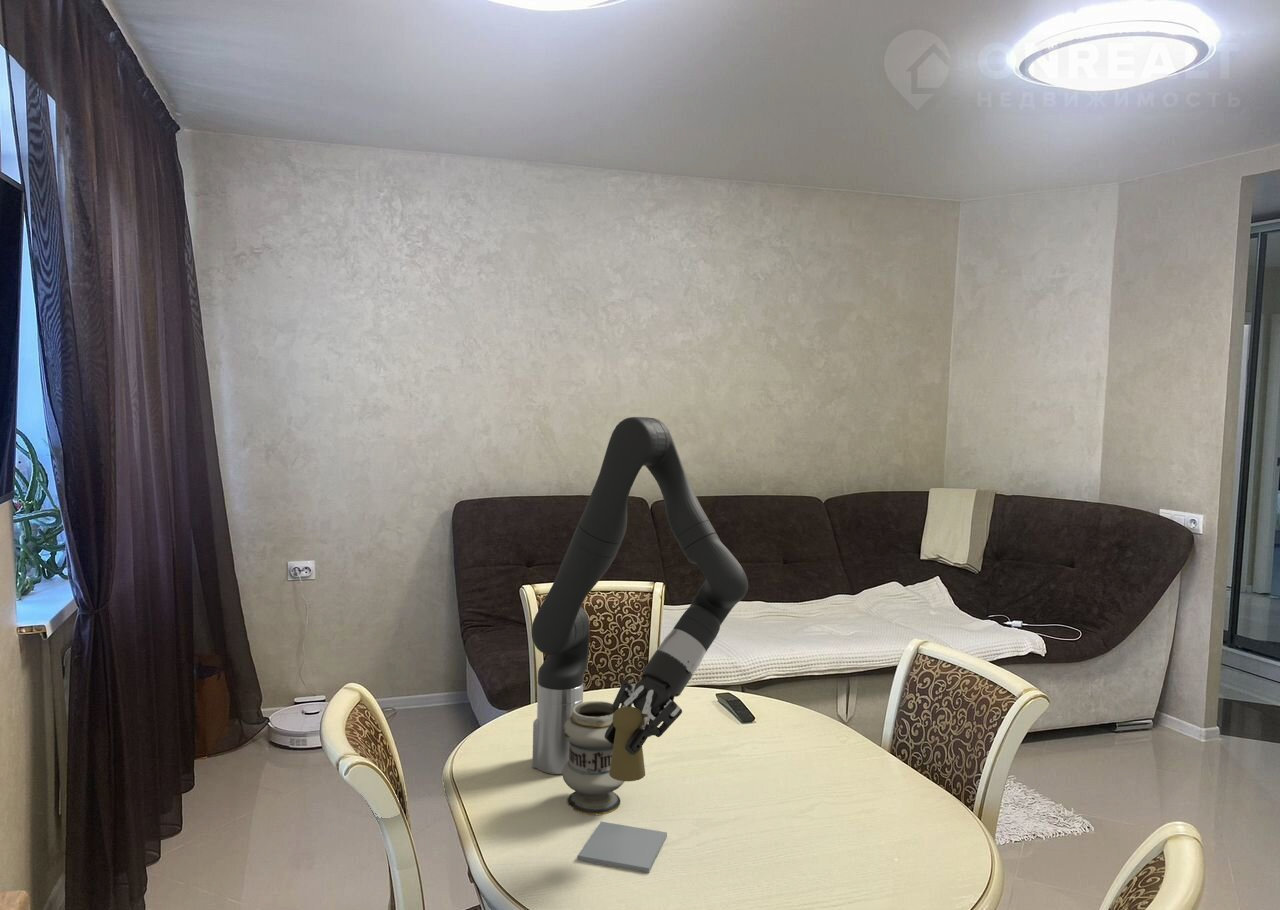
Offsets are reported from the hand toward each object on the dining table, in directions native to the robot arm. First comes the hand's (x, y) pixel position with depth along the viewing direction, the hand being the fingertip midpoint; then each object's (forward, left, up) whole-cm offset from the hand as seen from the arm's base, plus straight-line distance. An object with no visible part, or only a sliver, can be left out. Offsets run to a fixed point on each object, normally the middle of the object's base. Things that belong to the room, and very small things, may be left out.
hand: (618, 745), depth 144 cm
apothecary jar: (-9, +15, -18) cm, 26 cm away
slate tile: (+1, +1, -18) cm, 18 cm away
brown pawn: (+1, +1, -5) cm, 6 cm away
